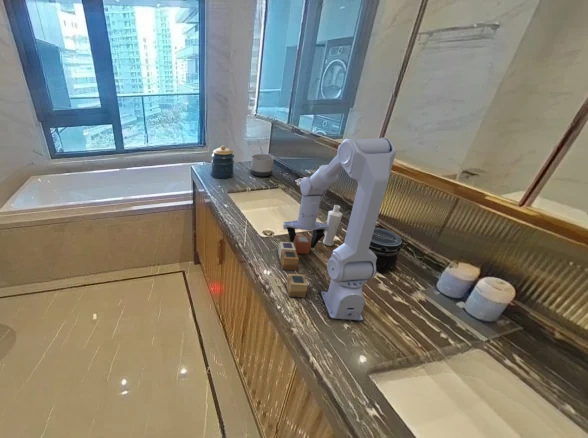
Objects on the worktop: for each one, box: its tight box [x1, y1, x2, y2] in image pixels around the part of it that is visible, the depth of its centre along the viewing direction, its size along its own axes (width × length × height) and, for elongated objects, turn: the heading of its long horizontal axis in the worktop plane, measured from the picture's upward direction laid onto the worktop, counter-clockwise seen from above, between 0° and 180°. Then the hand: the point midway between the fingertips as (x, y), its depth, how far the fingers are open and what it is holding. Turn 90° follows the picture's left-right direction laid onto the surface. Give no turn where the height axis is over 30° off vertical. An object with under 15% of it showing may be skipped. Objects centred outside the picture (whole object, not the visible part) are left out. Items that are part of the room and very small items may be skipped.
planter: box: [249, 153, 275, 178], centre depth 167 cm, size 13×13×10 cm
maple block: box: [285, 273, 309, 298], centre depth 81 cm, size 4×4×5 cm
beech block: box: [279, 250, 300, 271], centre depth 91 cm, size 4×4×5 cm
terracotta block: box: [294, 235, 311, 255], centre depth 99 cm, size 4×4×5 cm
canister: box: [211, 145, 235, 179], centre depth 165 cm, size 13×13×18 cm
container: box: [369, 227, 404, 272], centre depth 92 cm, size 13×13×10 cm
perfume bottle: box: [322, 204, 344, 247], centre depth 100 cm, size 5×4×15 cm
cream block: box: [277, 241, 296, 261], centre depth 96 cm, size 4×4×5 cm
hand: (301, 246), depth 100 cm, fingers open, 6 cm apart
